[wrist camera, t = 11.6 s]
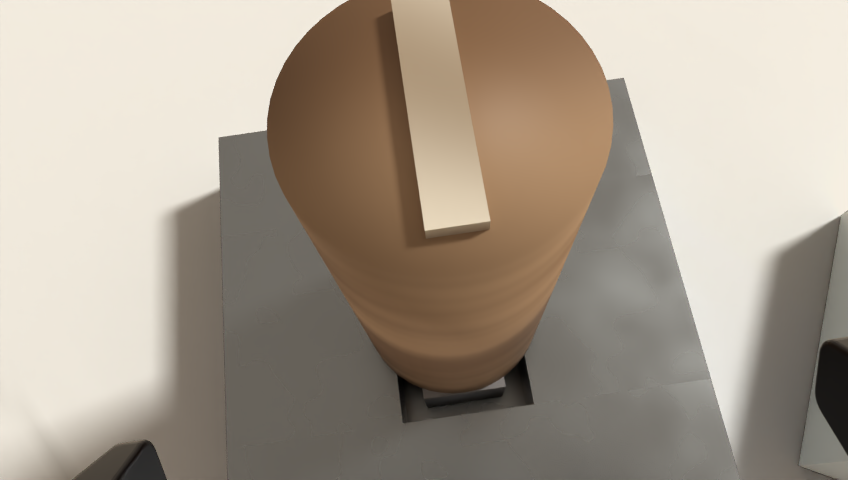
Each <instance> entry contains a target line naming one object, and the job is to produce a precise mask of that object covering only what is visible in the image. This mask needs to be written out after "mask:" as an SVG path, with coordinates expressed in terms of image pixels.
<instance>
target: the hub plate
mask: <svg viewBox="0 0 848 480" xmlns="http://www.w3.org/2000/svg"><path fill="white" fill-rule="evenodd" d="M606 81H607V84H608V87H609V92H610V97H611V102H612V108H613V134H612V143H611V149H610V152H609V156H608V160H607V164H606V167H605V169H604V172H603V174H602V176H601V179H600V181H599V183H598V186H597V188H596V190H595V193H594V195H593V198H592V200H591V202H590V205H589V207H588V209H587V212H586V214H585V216H584V219H583V221H582V223H581V226H580V228H579V231H578V233H577V235H576V238H575V240H574V242H573V245H572V247H571V249H570V252H569V254H568V256H567V259H566V261H565V263H564V266H563V268H562V271H561V273H560V275H559V278H558V280H557V282H556V285H555V287H554V289H553V292H552V294H551V296H550V299H549V301H548V303H547V306H546V308H545V311H544V313H543V315H542V318H541V320H540V322H539V325H538V327H537V329H536V332H535V334H534V336H533V339H532V341H531V343H530V346H529V348H528V350H527V351H526V353H525V354H524V356H523V358H522V359H521V360H520V361H519V363H518V364H517V365H516V366H515V367H514V368H513V369H512V370H511V371H510V372H509V373H508V374H506V375H505V376H504V380H505V385H506V387H505V390H504V393H503V395H502V396H501V397H494V398H488V399H481V400H474V401H467V402H460V403H453V404H446V405H440V406H433V407H427V405H426V403H425V401H424V397H423V390H422V388H420V387H418V386H416V385H413V384H411V383H409V382H408V381H406V380H405V379H403V378H402V377H400V376H399V375H397V374H396V373H395V372H394V371H393V370H392V369H391V368H390V367H389V366H388V365H387V364H386V363H385V362H384V360H383V359H382V358H381V356H380V355H379V353H378V352H377V350H376V348H375V347H374V345H373V343H372V342H371V340H370V338H369V337H368V335H367V333H366V332H365V330H364V328H363V327H362V325H361V323H360V321H359V320H358V318H357V316H356V315H355V313H354V311H353V310H352V308H351V306H350V305H349V303H348V301H347V300H346V298H345V296H344V295H343V293H342V291H341V290H340V288H339V286H338V285H337V283H336V281H335V280H334V278H333V276H332V275H331V273H330V271H329V270H328V268H327V266H326V265H325V263H324V261H323V259H322V258H321V256H320V254H319V253H318V251H317V249H316V248H315V246H314V244H313V243H312V241H311V239H310V238H309V236H308V234H307V233H306V231H305V229H304V228H303V226H302V224H301V223H300V221H299V219H298V218H297V216H296V214H295V213H294V211H293V209H292V208H291V206H290V204H289V203H288V201H287V199H286V197H285V196H284V194H283V192H282V190H281V188H280V185H279V183H278V181H277V179H276V177H275V174H274V170H273V167H272V163H271V160H270V156H269V149H268V141H267V131H260V132H253V133H247V134H240V135H233V136H226V137H220V138H219V170H220V209H221V248H222V287H223V326H224V365H225V404H226V443H227V480H740V477H739V474H738V471H737V467H736V464H735V460H734V457H733V453H732V450H731V446H730V443H729V440H728V436H727V433H726V429H725V426H724V422H723V419H722V415H721V412H720V408H719V405H718V402H717V398H716V395H715V391H714V388H713V384H712V381H711V377H710V374H709V371H708V367H707V364H706V360H705V357H704V353H703V350H702V346H701V343H700V339H699V336H698V333H697V329H696V326H695V322H694V319H693V315H692V312H691V308H690V305H689V301H688V298H687V295H686V291H685V288H684V284H683V281H682V277H681V274H680V270H679V267H678V264H677V260H676V257H675V253H674V250H673V246H672V243H671V239H670V236H669V232H668V229H667V226H666V222H665V219H664V215H663V212H662V208H661V205H660V201H659V198H658V195H657V191H656V188H655V184H654V181H653V177H652V174H651V170H650V167H649V163H648V160H647V157H646V153H645V150H644V146H643V143H642V139H641V136H640V132H639V129H638V126H637V122H636V119H635V115H634V112H633V108H632V105H631V101H630V98H629V94H628V91H627V88H626V84H625V81H624V78H620V79H613V80H606Z"/></svg>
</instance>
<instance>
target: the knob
mask: <svg viewBox="0 0 848 480" xmlns="http://www.w3.org/2000/svg"><path fill="white" fill-rule="evenodd" d="M612 134H613V108H612V102H611V97H610V92H609V87H608V84H607V81H606V78H605V76H604V73H603V70H602V68H601V66H600V64H599V62H598V60H597V58H596V56H595V55H594V53H593V51H592V49H591V48H590V47H589V45H588V44H587V43H586V41H585V40H584V39H583V37H582V36H581V35H580V34H579V32H578V31H577V30H576V29H575V28H574V27H573V26H572V25H571V24H570V23H569V22H568V21H567V20H566V19H564V18H563V17H562V16H561V15H559V14H558V13H557V12H556V11H555V10H553V9H552V8H551V7H549V6H547V5H546V4H544V3H542V2H541V1H539V0H349V1H347V2H345V3H343V4H342V5H340V6H338V7H337V8H336V9H334V10H333V11H331V12H330V13H329V14H327V15H326V16H325V17H323V18H322V19H321V20H320V21H319V22H318V23H317V24H316V25H315V26H313V27H312V28H311V29H310V30H309V31H308V32H307V33H306V35H305V36H304V37H303V38H302V39H301V40H300V42H299V43H298V44H297V45H296V46H295V48H294V49H293V51H292V52H291V54H290V56H289V57H288V59H287V60H286V62H285V63H284V65H283V68H282V70H281V72H280V74H279V76H278V78H277V80H276V83H275V86H274V89H273V93H272V96H271V99H270V105H269V111H268V117H267V141H268V149H269V156H270V160H271V163H272V167H273V170H274V174H275V177H276V179H277V181H278V183H279V185H280V188H281V190H282V192H283V194H284V196H285V197H286V199H287V201H288V203H289V204H290V206H291V208H292V209H293V211H294V213H295V214H296V216H297V218H298V219H299V221H300V223H301V224H302V226H303V228H304V229H305V231H306V233H307V234H308V236H309V238H310V239H311V241H312V243H313V244H314V246H315V248H316V249H317V251H318V253H319V254H320V256H321V258H322V259H323V261H324V263H325V265H326V266H327V268H328V270H329V271H330V273H331V275H332V276H333V278H334V280H335V281H336V283H337V285H338V286H339V288H340V290H341V291H342V293H343V295H344V296H345V298H346V300H347V301H348V303H349V305H350V306H351V308H352V310H353V311H354V313H355V315H356V316H357V318H358V320H359V321H360V323H361V325H362V327H363V328H364V330H365V332H366V333H367V335H368V337H369V338H370V340H371V342H372V343H373V345H374V347H375V348H376V350H377V352H378V353H379V355H380V356H381V358H382V359H383V360H384V362H385V363H386V364H387V365H388V366H389V367H390V368H391V369H392V370H393V371H394V372H395V373H396V374H397V375H399V376H400V377H402V378H403V379H405V380H406V381H408V382H409V383H411V384H413V385H416V386H418V387H420V388H422V390H423V397H424V401H425V403H426V405H427V407H433V406H440V405H446V404H453V403H460V402H467V401H474V400H481V399H488V398H494V397H501V396H502V395H503V393H504V390H505V387H506V385H505V380H504V376H505V375H506V374H508V373H509V372H510V371H511V370H512V369H513V368H514V367H515V366H516V365H517V364H518V363H519V361H520V360H521V359H522V358H523V356H524V354H525V353H526V351H527V350H528V348H529V346H530V343H531V341H532V339H533V336H534V334H535V332H536V329H537V327H538V325H539V322H540V320H541V318H542V315H543V313H544V311H545V308H546V306H547V303H548V301H549V299H550V296H551V294H552V292H553V289H554V287H555V285H556V282H557V280H558V278H559V275H560V273H561V271H562V268H563V266H564V263H565V261H566V259H567V256H568V254H569V252H570V249H571V247H572V245H573V242H574V240H575V238H576V235H577V233H578V231H579V228H580V226H581V223H582V221H583V219H584V216H585V214H586V212H587V209H588V207H589V205H590V202H591V200H592V198H593V195H594V193H595V190H596V188H597V186H598V183H599V181H600V179H601V176H602V174H603V172H604V169H605V167H606V164H607V160H608V156H609V152H610V149H611V143H612Z"/></svg>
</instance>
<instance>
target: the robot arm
mask: <svg viewBox="0 0 848 480" xmlns="http://www.w3.org/2000/svg"><path fill="white" fill-rule="evenodd" d="M815 398H816V402H817V405H818V407H819V409H820V411H821V413H822V414H823V416H824V418H825V419H826V421H827V423H828V424H829V426H830V428H831V429H832V431H833V433H834V434H835V436H836V437H837V439H838V441H839V442H840V444H841V446H842V447H843V449H844V451H845V452H846V454H847V456H848V337H841V338H834V339H828V340H826V341H825V342H823V343H822V345H821V347H820V351H819V359H818V367H817V375H816V384H815ZM72 480H167V479H166V476H165V474H164V471H163V468H162V466H161V463H160V460H159V458H158V455H157V452H156V450H155V448H154V446H153V444H152V443H151V442H150V441H147V440H139V441H132V442H125V443H120V444H117V445H115V446H114V447H113V448H111V449H110V450H109V451H108V452H106V453H105V454H104V455H102V456H101V457H100V458H99V459H97V460H96V461H95V462H94V463H92V464H91V465H90V466H89V467H87V468H86V469H85V470H84V471H82V472H81V473H80V474H79V475H77V476H76V477H75V478H74V479H72Z"/></svg>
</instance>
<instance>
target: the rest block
mask: <svg viewBox="0 0 848 480" xmlns="http://www.w3.org/2000/svg"><path fill="white" fill-rule="evenodd" d="M841 337H848V210H847V211H846V212H845V213H843V214H842V215H841V219H840V225H839V231H838V237H837V242H836V248H835V254H834V260H833V266H832V272H831V278H830V284H829V289H828V295H827V301H826V307H825V313H824V319H823V325H822V330H821V336H820V342H819V348H818V354H817V360H816V366H815V372H814V377H813V383H812V389H811V395H810V401H809V407H808V413H807V419H806V424H805V430H804V436H803V442H802V448H801V454H800V460H799V465H798V466H801V467H804V468H806V469H809V470H812V471H815V472H818V473H821V474H823V475H826V476H829V477H832V478H835V479H838V480H848V456H847V454H846V452H845V451H844V449H843V447H842V446H841V444H840V442H839V441H838V439H837V437H836V436H835V434H834V433H833V431H832V429H831V428H830V426H829V424H828V423H827V421H826V419H825V418H824V416H823V414H822V413H821V411H820V409H819V407H818V405H817V402H816V398H815V384H816V375H817V367H818V359H819V351H820V347H821V345H822V343H823V342H825V341H826V340H828V339H834V338H841Z"/></svg>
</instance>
